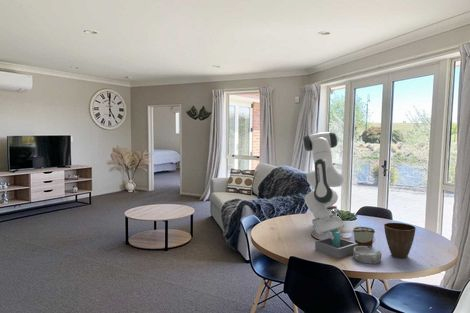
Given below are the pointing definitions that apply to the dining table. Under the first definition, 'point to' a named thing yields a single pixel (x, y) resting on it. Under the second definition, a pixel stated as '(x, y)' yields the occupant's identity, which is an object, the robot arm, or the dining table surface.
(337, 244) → the teal upright cylinder
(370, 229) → the food container
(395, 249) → the plant pot
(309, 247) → the dining table surface
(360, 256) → the dish
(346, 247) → the shallow grey tray
